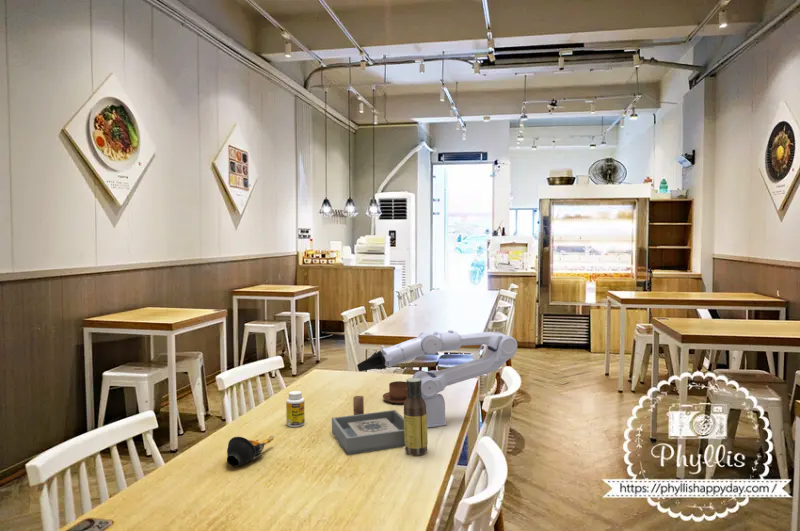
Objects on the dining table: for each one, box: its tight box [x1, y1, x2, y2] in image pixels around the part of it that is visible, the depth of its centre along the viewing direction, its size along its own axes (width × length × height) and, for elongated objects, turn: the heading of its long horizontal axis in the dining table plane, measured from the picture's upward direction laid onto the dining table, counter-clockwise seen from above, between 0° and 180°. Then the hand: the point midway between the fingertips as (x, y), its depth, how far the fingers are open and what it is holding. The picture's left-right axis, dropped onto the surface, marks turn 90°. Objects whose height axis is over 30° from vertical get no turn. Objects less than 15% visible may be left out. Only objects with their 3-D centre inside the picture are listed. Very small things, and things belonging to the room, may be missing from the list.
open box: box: [331, 409, 405, 456], centre depth 154 cm, size 20×18×4 cm
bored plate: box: [347, 418, 398, 437], centre depth 154 cm, size 12×12×2 cm
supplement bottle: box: [285, 390, 306, 428], centre depth 166 cm, size 6×6×10 cm
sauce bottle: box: [403, 377, 429, 457], centre depth 144 cm, size 6×6×20 cm
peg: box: [352, 395, 365, 415], centre depth 168 cm, size 3×3×8 cm
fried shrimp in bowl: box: [226, 435, 275, 468], centre depth 141 cm, size 8×10×16 cm
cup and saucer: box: [382, 380, 408, 404], centre depth 191 cm, size 12×12×6 cm
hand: (359, 368), depth 161 cm, fingers open, 7 cm apart
